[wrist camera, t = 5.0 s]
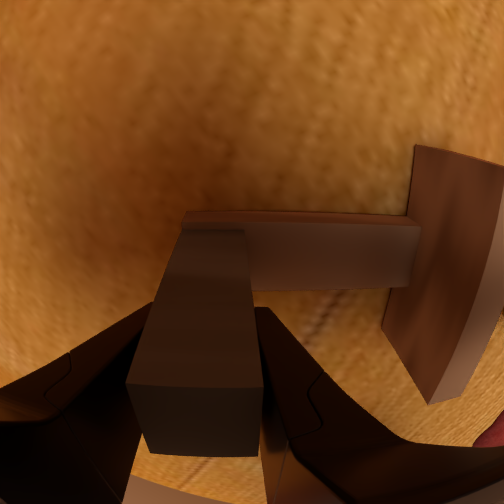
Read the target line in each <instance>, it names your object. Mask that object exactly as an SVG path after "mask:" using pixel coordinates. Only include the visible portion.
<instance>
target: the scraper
mask: <svg viewBox="0 0 504 504" xmlns="http://www.w3.org/2000/svg"><path fill="white" fill-rule="evenodd" d="M391 287H392V290H391V294H390V298H389V302H388V306H387V310H386V314H385V317H384V321H383V324H382V328H381V329H382V330H383V332H384V333H385V335H386V337H387V338H388V340H389V341H390V343H391V345H392V346H393V348H394V349H395V351H396V353H397V354H398V356H399V358H400V359H401V361H402V363H403V364H404V366H405V367H406V369H407V371H408V372H409V374H410V376H411V377H412V379H413V381H414V383H415V384H416V386H417V388H418V389H419V391H420V393H421V394H422V396H423V398H424V400H425V401H426V403H427V405H431V404H434V403H438V402H442V401H445V400H449V399H452V398H456V397H459V396H461V394H462V393H463V391H464V389H465V387H466V386H467V384H468V382H469V380H470V378H471V376H472V374H473V373H474V371H475V369H476V367H477V365H478V363H479V361H480V359H481V357H482V355H483V353H484V351H485V348H486V346H487V344H488V342H489V340H490V338H491V335H492V333H493V331H494V328H495V326H496V324H497V321H498V319H499V316H500V314H501V311H502V309H503V306H504V166H502V165H499V164H495V163H492V162H489V161H485V160H482V159H478V158H475V157H471V156H467V155H464V154H460V153H456V152H452V151H448V150H443V149H438V148H433V147H427V146H422V145H416V148H415V158H414V167H413V175H412V183H411V191H410V198H409V204H408V211H407V216H390V215H369V214H344V213H313V212H264V211H187V212H186V214H185V216H184V218H183V220H182V231H181V233H180V236H179V238H178V240H177V243H176V245H175V248H174V250H173V253H172V255H171V258H170V260H169V263H168V265H167V268H166V270H165V273H164V275H163V278H162V280H161V283H160V286H159V288H158V291H157V294H156V296H155V299H154V302H153V304H152V307H151V310H150V312H149V315H148V318H147V321H146V323H145V326H144V329H143V332H142V335H141V337H140V340H139V343H138V346H137V349H136V352H135V355H134V358H133V361H132V364H131V367H130V370H129V373H128V376H127V379H126V382H125V384H126V387H127V390H128V393H129V397H130V400H131V403H132V405H133V408H134V411H135V414H136V417H137V420H138V422H139V425H140V428H141V431H142V433H143V436H144V438H145V441H146V444H147V446H148V449H149V451H150V453H154V454H164V455H178V456H197V457H255V456H258V450H259V439H260V427H261V415H262V403H263V391H264V385H263V377H262V369H261V361H260V353H259V345H258V337H257V329H256V321H255V313H254V305H253V296H252V291H297V290H338V289H367V288H391Z"/></svg>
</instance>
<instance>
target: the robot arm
mask: <svg viewBox="0 0 504 504" xmlns="http://www.w3.org/2000/svg"><path fill="white" fill-rule="evenodd" d="M152 304H153V302H150V303H148V304H147V305H145V306H143V307H142V308H140V309H138V310H137V311H135V312H133V313H132V314H130V315H128V316H127V317H125V318H123V319H122V320H120V321H118V322H117V323H115V324H113V325H112V326H110V327H109V328H107V329H105V330H104V331H102V332H100V333H99V334H97V335H95V336H94V337H92V338H90V339H89V340H87V341H85V342H84V343H82V344H80V345H79V346H77V347H76V348H74V349H72V350H71V351H70V353H69V352H67V353H66V354H64V355H62V356H61V357H59V358H57V359H56V360H54V361H52V362H50V363H49V364H47V365H45V366H43V367H42V368H40V369H38V370H36V371H34V372H32V373H30V374H28V375H26V376H24V377H22V378H20V379H18V380H16V381H14V382H12V383H10V384H8V385H6V386H4V387H2V388H0V504H122V503H121V502H123V498H124V494H125V491H126V487H127V483H128V480H129V476H130V473H131V469H132V466H133V462H134V459H135V455H136V452H137V449H138V445H139V442H140V439H141V435H142V431H141V428H140V425H139V422H138V420H137V417H136V414H135V411H134V408H133V405H132V403H131V400H130V397H129V393H128V390H127V387H126V384H125V382H126V379H127V376H128V373H129V370H130V367H131V364H132V361H133V358H134V355H135V352H136V349H137V346H138V343H139V340H140V337H141V335H142V332H143V329H144V326H145V323H146V321H147V318H148V315H149V312H150V310H151V307H152ZM254 313H255V321H256V329H257V337H258V345H259V353H260V361H261V369H262V377H263V385H264V391H263V403H262V415H261V427H260V439H259V444H260V452H261V460H262V467H263V475H264V482H265V490H266V497H267V504H504V445H503V446H496V447H460V446H444V445H432V444H422V443H415V442H411V441H407V440H405V439H403V438H401V437H399V436H397V435H396V434H394V433H393V432H391V431H390V430H389V429H388V428H386V427H385V426H384V425H383V424H382V423H380V422H379V421H378V420H377V419H375V418H374V417H373V416H372V415H371V414H369V413H368V412H367V411H366V410H365V409H363V408H362V407H361V406H360V405H359V404H357V403H356V402H355V401H354V400H353V399H352V398H351V397H350V396H349V395H347V394H346V393H345V392H344V391H343V390H342V389H341V388H340V387H339V386H338V385H337V384H336V383H335V382H334V381H333V379H332V378H331V377H330V376H329V375H328V374H327V373H326V372H324V370H323V368H322V367H321V366H320V365H319V364H318V363H317V362H316V361H315V360H314V358H313V357H312V356H311V355H310V354H309V353H308V352H307V350H306V349H305V348H304V347H303V346H302V345H301V344H300V343H299V341H298V340H297V339H296V338H295V337H294V336H293V335H292V333H291V332H290V331H289V330H288V329H287V328H286V327H285V325H284V324H283V323H282V322H281V321H280V320H279V319H278V317H277V316H276V315H275V314H274V313H273V312H272V311H271V309H270V308H268V307H255V308H254Z"/></svg>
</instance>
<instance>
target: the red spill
mask: <svg viewBox="0 0 504 504" xmlns="http://www.w3.org/2000/svg"><path fill="white" fill-rule="evenodd" d="M503 445H504V410H503V411H502V412H501V413H500V415H499V416H498V417H497V419H496V420H495V422H494V423H493V424H492V425H491V426H490V427H489V428H488V429H486V430H485V431H484V432H483V433H482V434H481V435H480V436H479V437H478V438H477V439H476V440H475V442H474V444H473V447H496V446H503Z"/></svg>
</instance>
